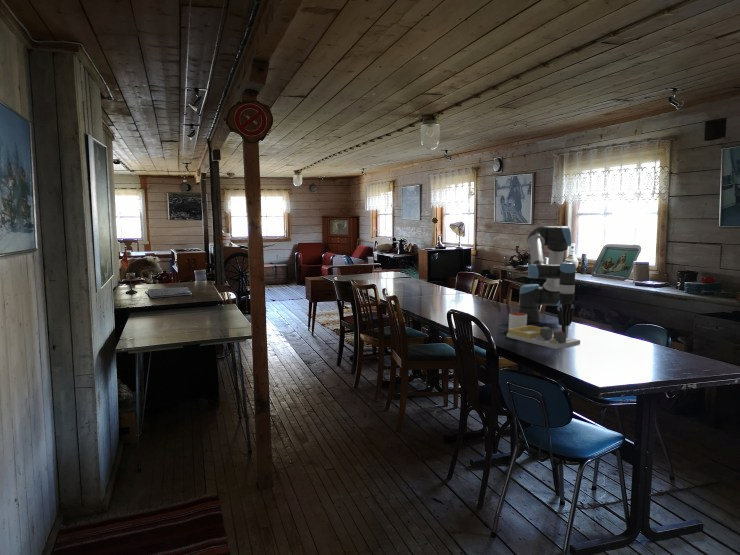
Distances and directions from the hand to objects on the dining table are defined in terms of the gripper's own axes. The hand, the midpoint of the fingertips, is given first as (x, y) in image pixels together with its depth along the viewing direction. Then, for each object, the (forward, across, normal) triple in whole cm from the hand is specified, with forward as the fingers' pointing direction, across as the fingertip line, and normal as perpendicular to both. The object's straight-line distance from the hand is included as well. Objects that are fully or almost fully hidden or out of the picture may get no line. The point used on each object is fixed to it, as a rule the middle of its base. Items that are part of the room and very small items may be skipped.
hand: (564, 337), depth 272 cm
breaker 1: (+2, +4, -9) cm, 9 cm away
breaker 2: (+2, +4, 0) cm, 4 cm away
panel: (+4, 0, -13) cm, 14 cm away
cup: (+4, -6, -36) cm, 37 cm away
